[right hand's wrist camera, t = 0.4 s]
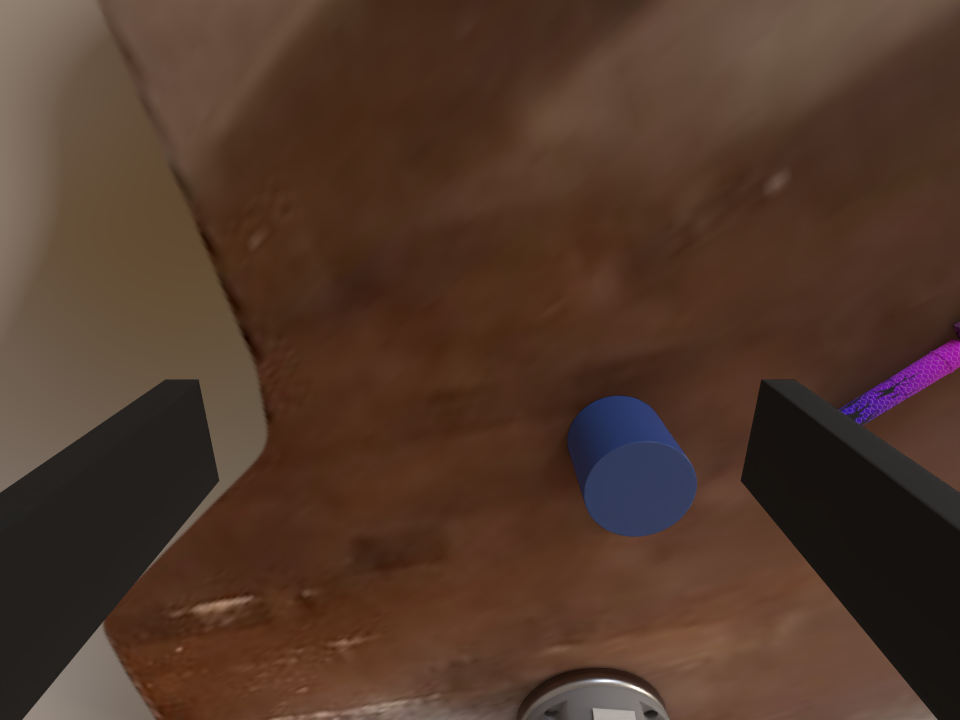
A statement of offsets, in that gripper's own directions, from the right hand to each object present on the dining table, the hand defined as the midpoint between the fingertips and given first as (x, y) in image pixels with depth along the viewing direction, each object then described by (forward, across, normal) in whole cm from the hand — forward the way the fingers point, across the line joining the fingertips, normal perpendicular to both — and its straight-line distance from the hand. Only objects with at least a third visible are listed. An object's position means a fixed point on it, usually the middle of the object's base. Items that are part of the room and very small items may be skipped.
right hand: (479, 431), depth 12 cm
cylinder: (+26, -11, +15) cm, 32 cm away
